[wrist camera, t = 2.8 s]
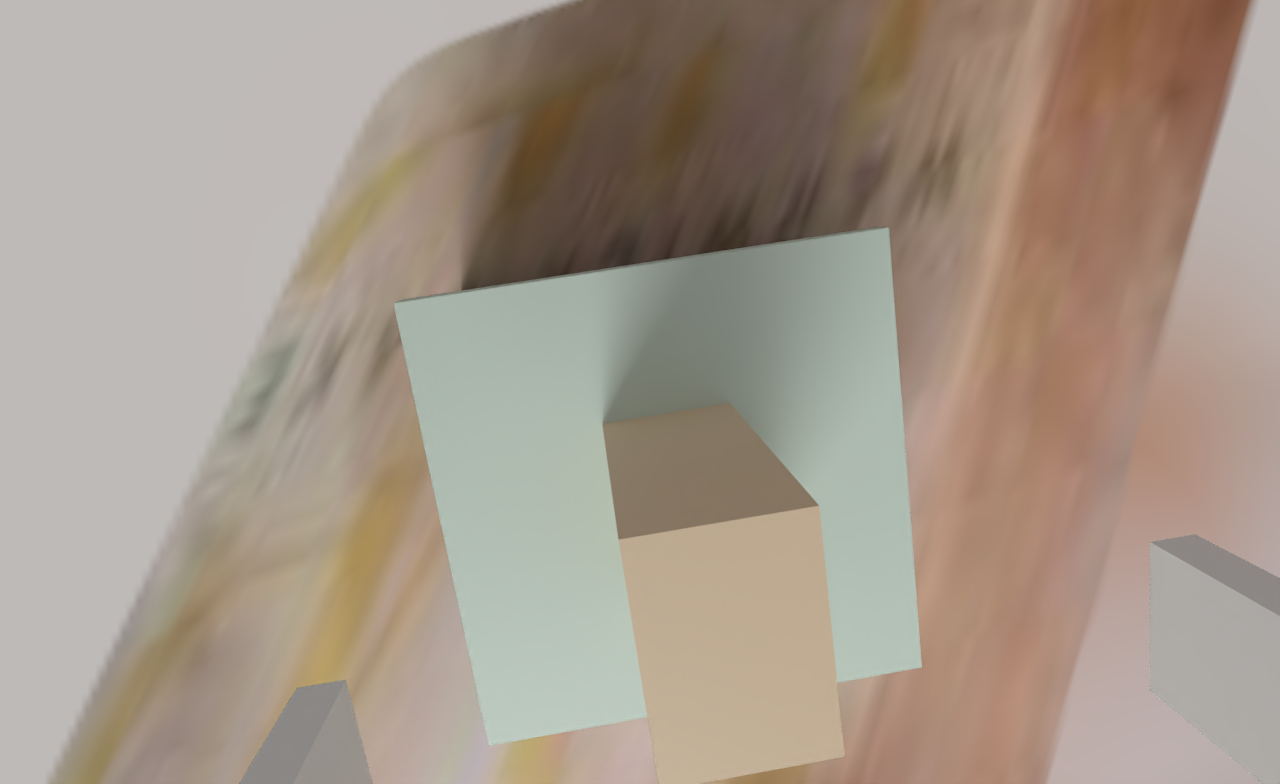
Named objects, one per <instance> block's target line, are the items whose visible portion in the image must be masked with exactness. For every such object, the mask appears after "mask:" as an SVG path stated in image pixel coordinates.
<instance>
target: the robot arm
mask: <svg viewBox="0 0 1280 784" xmlns="http://www.w3.org/2000/svg"><path fill="white" fill-rule="evenodd" d="M1150 691H1151V692H1153V693H1154V694H1155V695H1156V696H1158V697H1159V698H1160V699H1161V700H1162V701H1163V702H1165V703H1166V704H1167V705H1168V706H1169V707H1171V708H1172V709H1173V710H1174V711H1175V712H1177V713H1178V714H1179V715H1180V716H1182V717H1183V718H1184V719H1185V720H1186V721H1187V722H1189V723H1190V724H1191V725H1192V726H1193V727H1195V728H1196V729H1197V730H1198V731H1200V732H1201V733H1202V734H1203V735H1204V736H1206V737H1207V738H1208V739H1209V740H1210V741H1212V742H1213V743H1214V744H1215V745H1216V746H1218V747H1219V748H1220V749H1221V750H1222V751H1224V752H1225V753H1226V754H1227V755H1228V756H1230V757H1231V758H1232V759H1233V760H1234V761H1235V762H1237V763H1238V764H1239V765H1240V766H1242V767H1243V768H1244V769H1245V770H1246V771H1247V772H1249V773H1250V774H1251V775H1252V776H1254V777H1255V778H1256V779H1257V780H1258V781H1259V782H1261V783H1262V784H1280V578H1278V577H1276V576H1274V575H1273V574H1271V573H1268V572H1267V571H1265V570H1263V569H1261V568H1259V567H1257V566H1255V565H1253V564H1251V563H1249V562H1247V561H1245V560H1244V559H1242V558H1240V557H1238V556H1236V555H1234V554H1232V553H1230V552H1228V551H1226V550H1224V549H1222V548H1220V547H1218V546H1216V545H1215V544H1213V543H1211V542H1209V541H1207V540H1205V539H1203V538H1201V537H1199V536H1197V535H1190V536H1184V537H1178V538H1172V539H1166V540H1161V541H1155V542H1150ZM239 784H373V783H372V779H371V775H370V772H369V768H368V764H367V760H366V756H365V752H364V748H363V745H362V741H361V737H360V733H359V729H358V725H357V721H356V717H355V714H354V710H353V706H352V702H351V698H350V694H349V690H348V687H347V683H346V680H341V681H335V682H330V683H324V684H318V685H312V686H306V687H300V688H296V690H295V692H294V693H293V695H292V697H291V698H290V700H289V702H288V703H287V705H286V707H285V708H284V710H283V712H282V713H281V715H280V717H279V718H278V720H277V722H276V723H275V725H274V727H273V728H272V730H271V732H270V733H269V735H268V737H267V738H266V740H265V742H264V743H263V745H262V747H261V748H260V750H259V752H258V753H257V755H256V757H255V758H254V760H253V762H252V763H251V765H250V767H249V768H248V770H247V772H246V773H245V775H244V777H243V778H242V780H241V782H240V783H239Z"/></svg>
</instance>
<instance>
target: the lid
mask: <svg viewBox="0 0 1280 784" xmlns="http://www.w3.org/2000/svg"><path fill="white" fill-rule="evenodd" d="M394 308H395V312H396V317H397V322H398V326H399V331H400V336H401V340H402V345H403V350H404V354H405V359H406V364H407V368H408V373H409V378H410V382H411V387H412V392H413V396H414V401H415V406H416V410H417V415H418V420H419V424H420V429H421V434H422V438H423V443H424V448H425V452H426V457H427V462H428V466H429V471H430V476H431V480H432V485H433V489H434V494H435V499H436V503H437V508H438V513H439V517H440V522H441V527H442V531H443V536H444V541H445V545H446V550H447V555H448V559H449V564H450V569H451V573H452V578H453V583H454V587H455V592H456V597H457V601H458V606H459V611H460V615H461V620H462V625H463V629H464V634H465V639H466V643H467V648H468V653H469V657H470V662H471V666H472V671H473V676H474V680H475V685H476V690H477V694H478V699H479V704H480V708H481V713H482V718H483V722H484V727H485V732H486V736H487V741H488V746H491V745H496V744H502V743H507V742H513V741H518V740H524V739H530V738H535V737H541V736H546V735H552V734H557V733H563V732H568V731H574V730H579V729H585V728H590V727H596V726H601V725H607V724H612V723H618V722H623V721H629V720H634V719H640V718H645V717H647V718H648V724H649V730H650V737H651V743H652V749H653V755H654V761H655V767H656V773H657V780H658V784H701V783H706V782H712V781H717V780H723V779H728V778H733V777H739V776H744V775H749V774H755V773H760V772H766V771H771V770H776V769H782V768H787V767H792V766H798V765H803V764H809V763H814V762H819V761H825V760H830V759H835V758H841V757H845V754H844V744H843V734H842V724H841V714H840V705H839V695H838V685H837V683H838V682H844V681H850V680H855V679H861V678H866V677H872V676H877V675H883V674H888V673H894V672H899V671H905V670H910V669H916V668H921V667H922V664H921V651H920V637H919V624H918V611H917V597H916V584H915V571H914V557H913V544H912V530H911V517H910V504H909V490H908V477H907V464H906V450H905V437H904V424H903V410H902V397H901V384H900V370H899V357H898V344H897V330H896V317H895V304H894V290H893V277H892V264H891V250H890V237H889V228H879V227H874V228H868V229H861V230H855V231H848V232H842V233H835V234H828V235H822V236H815V237H809V238H802V239H796V240H789V241H783V242H776V243H770V244H763V245H756V246H750V247H743V248H737V249H730V250H724V251H717V252H711V253H704V254H698V255H691V256H684V257H678V258H671V259H665V260H658V261H652V262H645V263H639V264H632V265H626V266H619V267H612V268H606V269H599V270H593V271H586V272H580V273H573V274H567V275H560V276H553V277H547V278H540V279H534V280H527V281H521V282H514V283H508V284H501V285H495V286H488V287H481V288H475V289H468V290H462V291H455V292H449V293H442V294H436V295H429V296H423V297H416V298H409V299H403V300H400V301H398V302H395V303H394Z"/></svg>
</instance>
